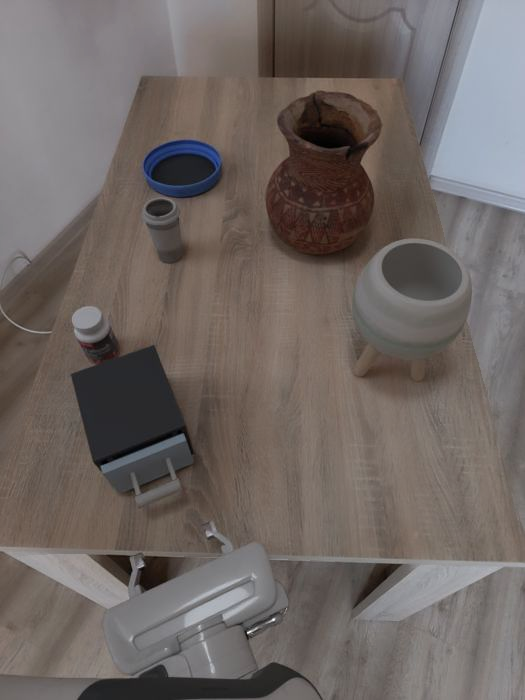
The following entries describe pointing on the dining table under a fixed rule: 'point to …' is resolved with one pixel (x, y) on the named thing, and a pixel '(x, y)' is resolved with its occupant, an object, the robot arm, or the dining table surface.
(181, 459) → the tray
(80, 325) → the pill bottle
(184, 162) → the bowl
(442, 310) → the planter
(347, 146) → the clay vase
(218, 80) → the dining table surface
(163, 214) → the cup
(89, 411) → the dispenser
